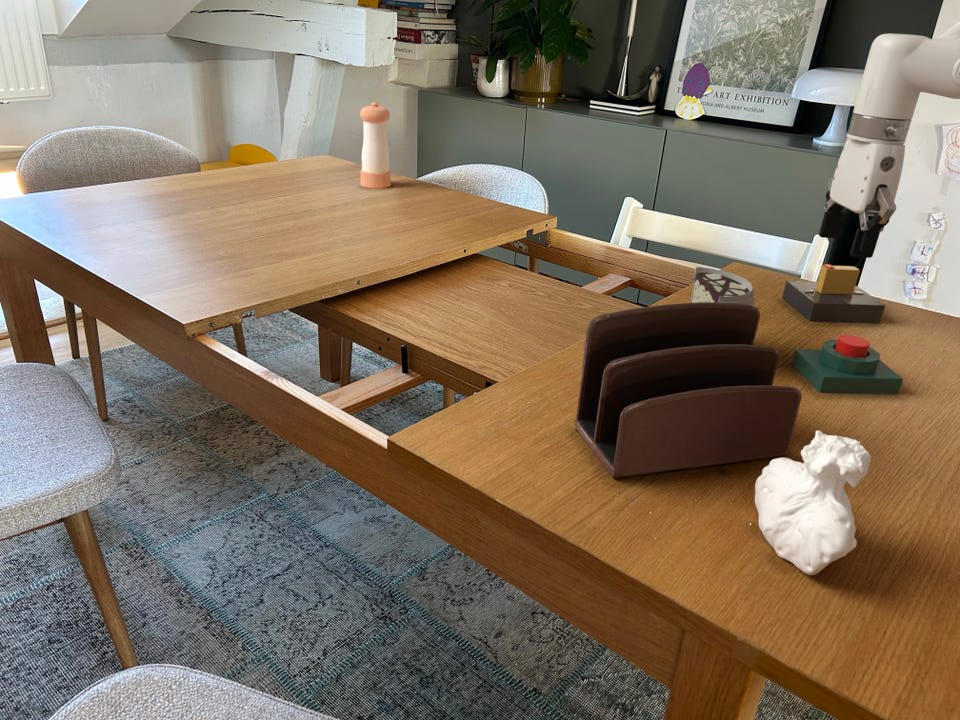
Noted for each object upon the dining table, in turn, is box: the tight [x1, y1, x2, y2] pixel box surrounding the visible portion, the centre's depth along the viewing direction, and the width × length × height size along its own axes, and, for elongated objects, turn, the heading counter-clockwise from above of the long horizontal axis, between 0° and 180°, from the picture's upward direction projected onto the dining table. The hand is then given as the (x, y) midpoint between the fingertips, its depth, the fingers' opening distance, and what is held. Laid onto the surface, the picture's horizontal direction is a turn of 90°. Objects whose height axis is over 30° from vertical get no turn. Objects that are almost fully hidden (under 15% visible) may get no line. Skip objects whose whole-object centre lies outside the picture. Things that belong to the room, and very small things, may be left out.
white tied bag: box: [754, 429, 872, 576], centre depth 61 cm, size 12×8×11 cm
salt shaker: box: [359, 101, 392, 189], centre depth 175 cm, size 7×7×19 cm
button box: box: [791, 339, 904, 395], centre depth 92 cm, size 10×8×4 cm
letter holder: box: [574, 302, 802, 479], centre depth 74 cm, size 10×20×14 cm, turn 106°
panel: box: [781, 280, 886, 324], centre depth 115 cm, size 11×10×3 cm
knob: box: [816, 263, 861, 295], centre depth 113 cm, size 5×2×4 cm, turn 93°
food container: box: [690, 266, 755, 307], centre depth 96 cm, size 12×6×10 cm, turn 179°
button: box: [835, 334, 871, 358], centre depth 91 cm, size 4×4×2 cm
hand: (844, 246), depth 111 cm, fingers open, 9 cm apart
